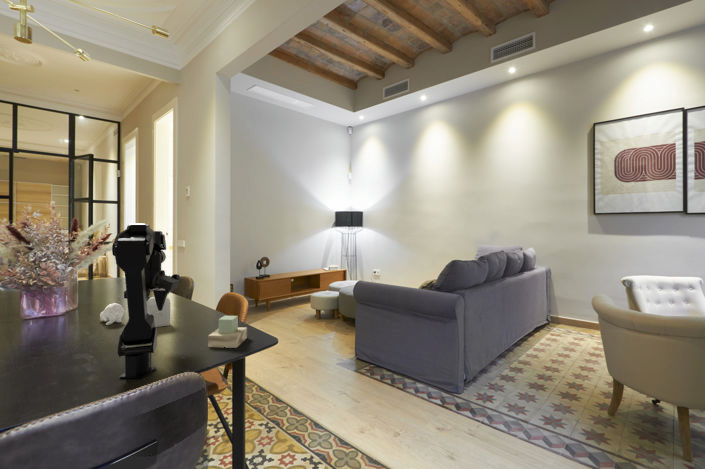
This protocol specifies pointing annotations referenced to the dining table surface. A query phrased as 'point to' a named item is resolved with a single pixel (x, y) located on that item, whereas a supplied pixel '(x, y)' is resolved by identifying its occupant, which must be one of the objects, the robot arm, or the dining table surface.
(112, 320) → the white animal figurine
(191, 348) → the dining table surface
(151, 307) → the photo printer
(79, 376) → the dining table surface
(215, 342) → the oak block
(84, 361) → the dining table surface
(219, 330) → the sage cube
